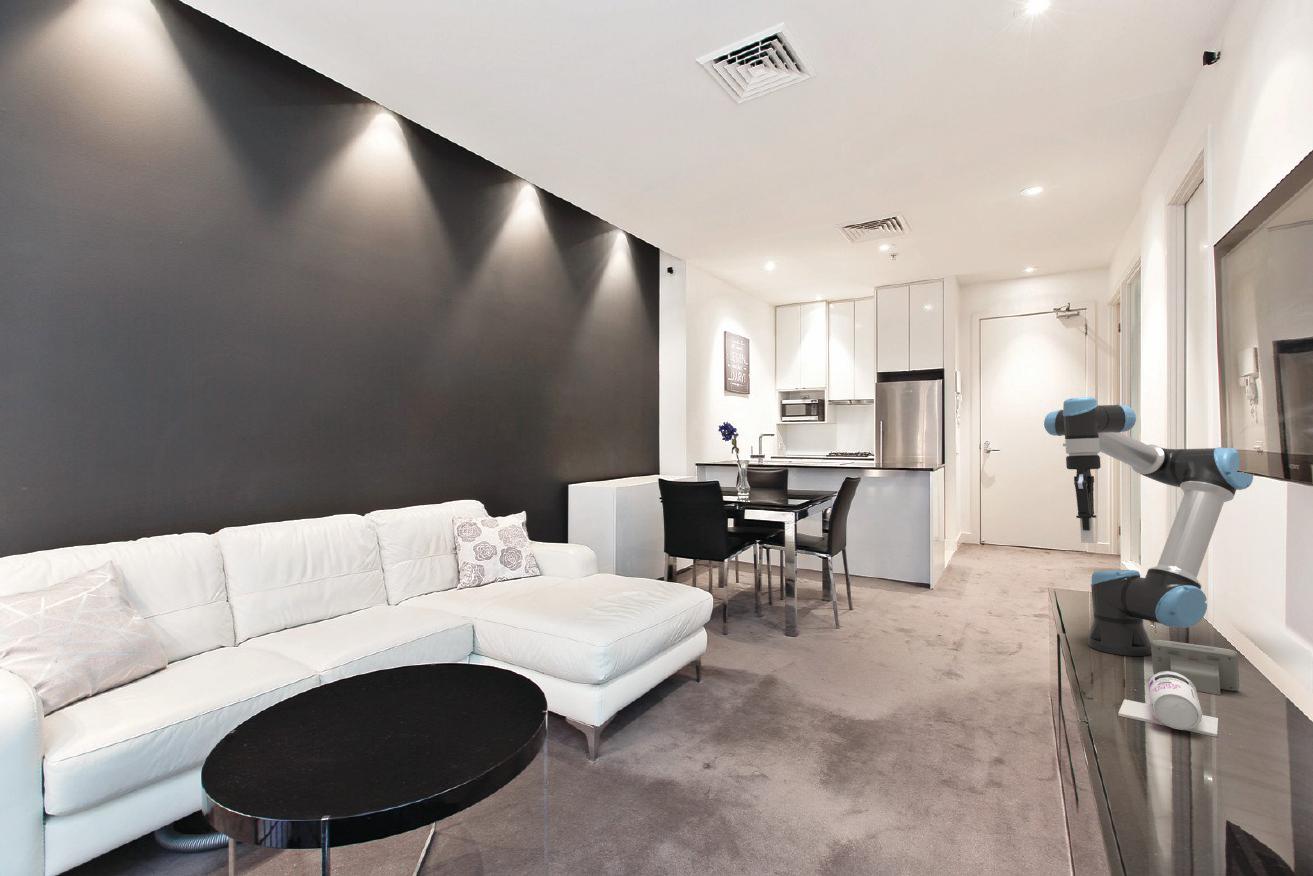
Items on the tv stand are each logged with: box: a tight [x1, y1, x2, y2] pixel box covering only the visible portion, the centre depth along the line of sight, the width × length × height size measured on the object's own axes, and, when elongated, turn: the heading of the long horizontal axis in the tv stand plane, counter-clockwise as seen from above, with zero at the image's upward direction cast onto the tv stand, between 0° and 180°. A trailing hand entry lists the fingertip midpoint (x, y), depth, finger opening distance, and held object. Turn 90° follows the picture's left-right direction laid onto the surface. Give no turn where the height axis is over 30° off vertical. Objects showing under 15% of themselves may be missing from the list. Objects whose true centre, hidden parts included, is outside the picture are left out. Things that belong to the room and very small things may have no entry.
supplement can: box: [1148, 671, 1203, 731], centre depth 128 cm, size 8×8×15 cm
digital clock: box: [1150, 639, 1240, 696], centre depth 147 cm, size 16×9×11 cm, turn 37°
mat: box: [1117, 698, 1219, 738], centre depth 130 cm, size 10×16×1 cm, turn 46°
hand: (1087, 542), depth 160 cm, fingers closed
